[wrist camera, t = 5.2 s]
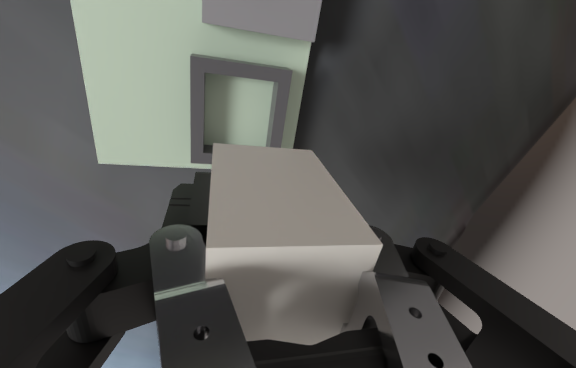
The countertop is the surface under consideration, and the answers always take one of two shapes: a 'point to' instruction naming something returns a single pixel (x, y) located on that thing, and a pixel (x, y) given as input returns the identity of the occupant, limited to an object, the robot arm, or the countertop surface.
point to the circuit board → (186, 72)
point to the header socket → (236, 69)
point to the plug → (285, 243)
